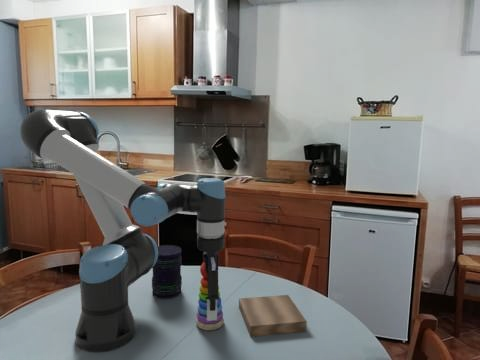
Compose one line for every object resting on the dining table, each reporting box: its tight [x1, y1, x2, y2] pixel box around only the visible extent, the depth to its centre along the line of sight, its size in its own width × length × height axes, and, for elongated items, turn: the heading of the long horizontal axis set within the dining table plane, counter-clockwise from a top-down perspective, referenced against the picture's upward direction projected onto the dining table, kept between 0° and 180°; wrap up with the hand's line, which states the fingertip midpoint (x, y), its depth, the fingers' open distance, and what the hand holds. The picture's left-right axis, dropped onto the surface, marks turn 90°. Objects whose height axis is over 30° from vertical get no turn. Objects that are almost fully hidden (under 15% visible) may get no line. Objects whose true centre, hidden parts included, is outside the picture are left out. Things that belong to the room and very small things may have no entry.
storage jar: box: [151, 244, 183, 300], centre depth 123 cm, size 10×10×15 cm
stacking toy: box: [195, 262, 225, 331], centre depth 103 cm, size 8×8×19 cm
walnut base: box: [238, 294, 308, 337], centre depth 108 cm, size 16×16×3 cm
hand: (210, 311), depth 104 cm, fingers open, 8 cm apart
